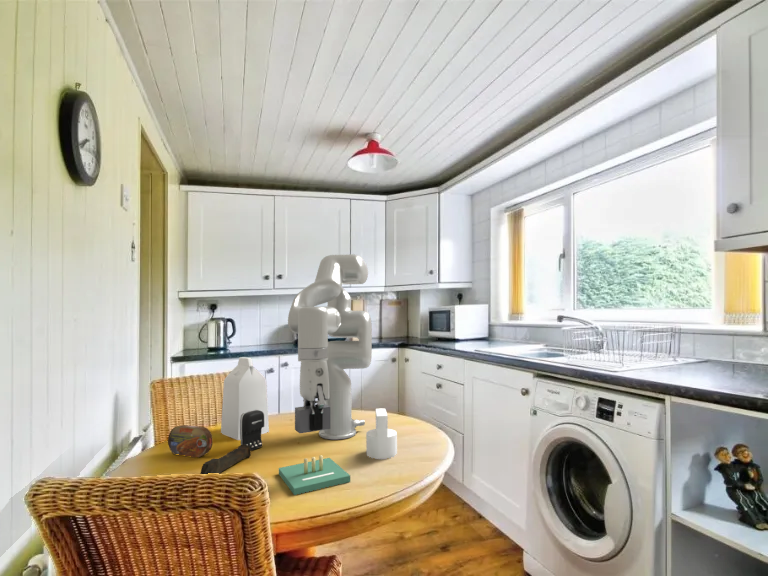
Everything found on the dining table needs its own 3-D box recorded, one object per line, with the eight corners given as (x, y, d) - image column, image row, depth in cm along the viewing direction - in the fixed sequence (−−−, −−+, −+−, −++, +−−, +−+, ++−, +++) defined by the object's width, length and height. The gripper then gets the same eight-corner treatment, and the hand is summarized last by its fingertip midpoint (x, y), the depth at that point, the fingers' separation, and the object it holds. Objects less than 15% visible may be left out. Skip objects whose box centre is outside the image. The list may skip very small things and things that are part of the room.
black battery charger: (247, 453, 118) (247, 414, 119) (239, 451, 120) (239, 413, 121) (266, 447, 124) (266, 409, 125) (258, 444, 126) (258, 408, 127)
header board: (329, 463, 110) (329, 444, 110) (350, 481, 98) (350, 460, 98) (278, 473, 103) (278, 454, 103) (294, 495, 91) (294, 472, 91)
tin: (166, 453, 119) (167, 425, 120) (175, 450, 122) (176, 422, 123) (206, 459, 114) (206, 429, 115) (214, 455, 117) (214, 426, 118)
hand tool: (239, 457, 116) (239, 440, 117) (251, 458, 115) (251, 441, 116) (191, 484, 98) (191, 465, 99) (204, 486, 97) (204, 466, 97)
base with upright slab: (398, 458, 113) (398, 415, 113) (366, 460, 112) (366, 416, 113) (395, 447, 122) (395, 408, 122) (366, 449, 121) (365, 408, 122)
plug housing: (324, 425, 104) (324, 403, 105) (330, 428, 101) (330, 406, 101) (294, 429, 100) (294, 407, 101) (299, 433, 97) (299, 410, 97)
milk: (269, 432, 140) (269, 357, 141) (238, 440, 131) (238, 360, 132) (250, 426, 147) (251, 355, 149) (220, 433, 139) (221, 358, 140)
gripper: (339, 356, 97) (339, 433, 95) (315, 351, 111) (315, 418, 110) (309, 358, 93) (309, 438, 92) (289, 353, 108) (289, 422, 106)
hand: (312, 426), depth 101 cm, fingers closed on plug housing, 4 cm apart
